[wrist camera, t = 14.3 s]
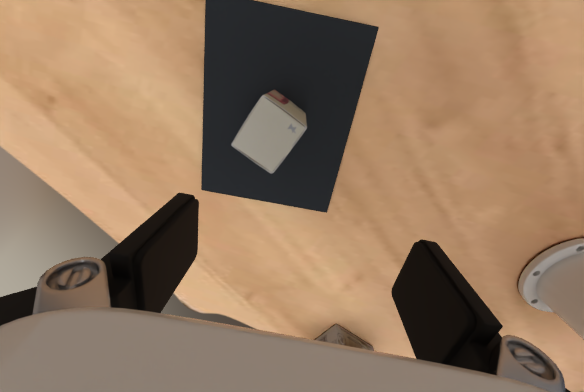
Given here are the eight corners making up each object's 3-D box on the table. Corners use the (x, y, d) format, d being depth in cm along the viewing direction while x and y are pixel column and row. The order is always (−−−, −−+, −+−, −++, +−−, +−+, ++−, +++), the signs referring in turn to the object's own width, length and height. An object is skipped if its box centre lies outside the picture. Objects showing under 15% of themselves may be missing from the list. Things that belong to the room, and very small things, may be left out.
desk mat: (377, 27, 23) (378, 27, 23) (326, 211, 32) (326, 212, 31) (207, -9, 22) (205, -10, 22) (202, 188, 31) (201, 190, 31)
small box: (274, 87, 25) (262, 91, 18) (307, 113, 26) (308, 127, 19) (248, 128, 27) (228, 145, 20) (280, 151, 28) (272, 175, 21)
